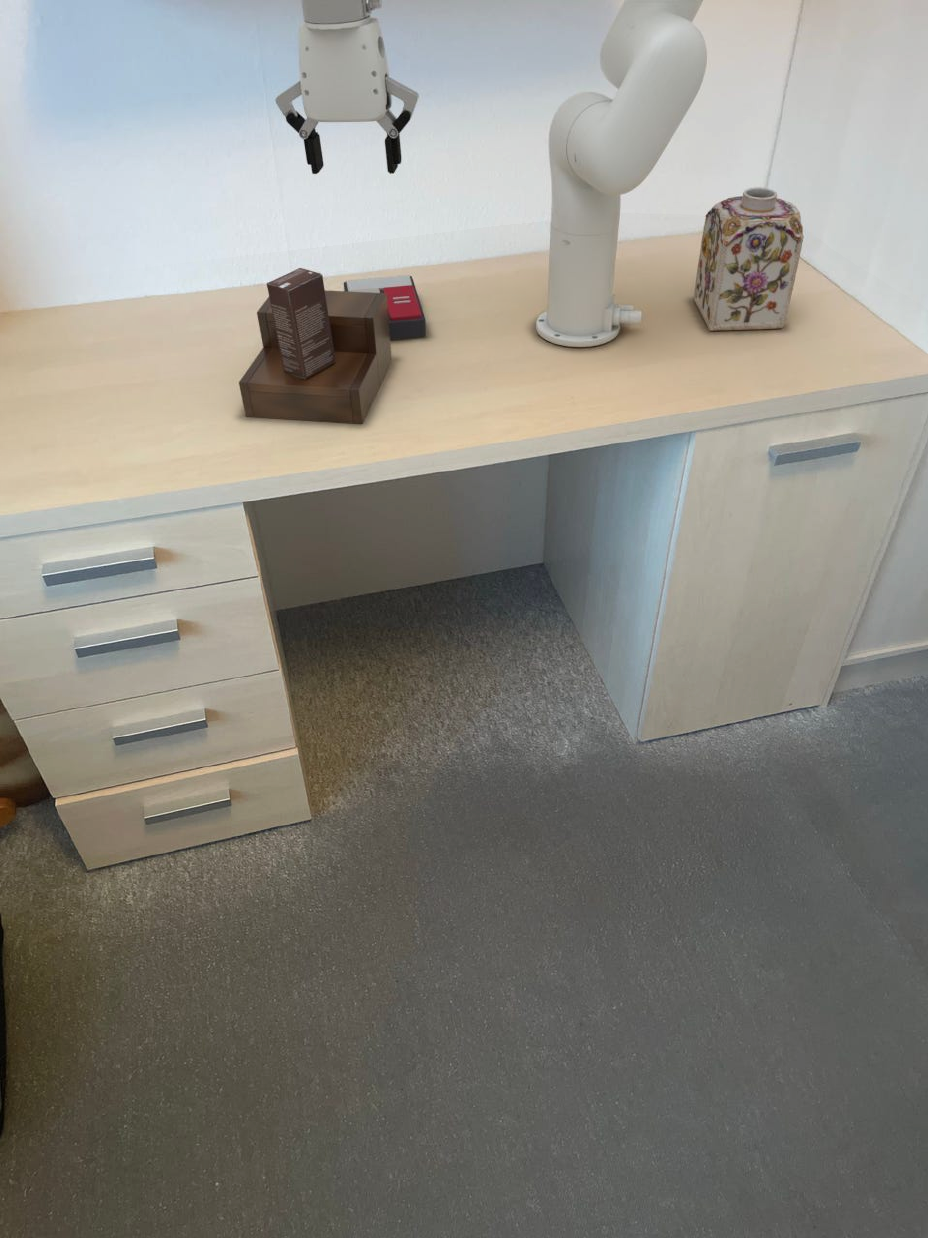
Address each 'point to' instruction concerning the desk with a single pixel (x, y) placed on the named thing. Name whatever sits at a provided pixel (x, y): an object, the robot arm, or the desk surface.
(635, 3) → the robot arm
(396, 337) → the calculator
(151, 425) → the desk surface
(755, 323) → the decorative jar
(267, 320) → the step shelf
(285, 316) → the box
